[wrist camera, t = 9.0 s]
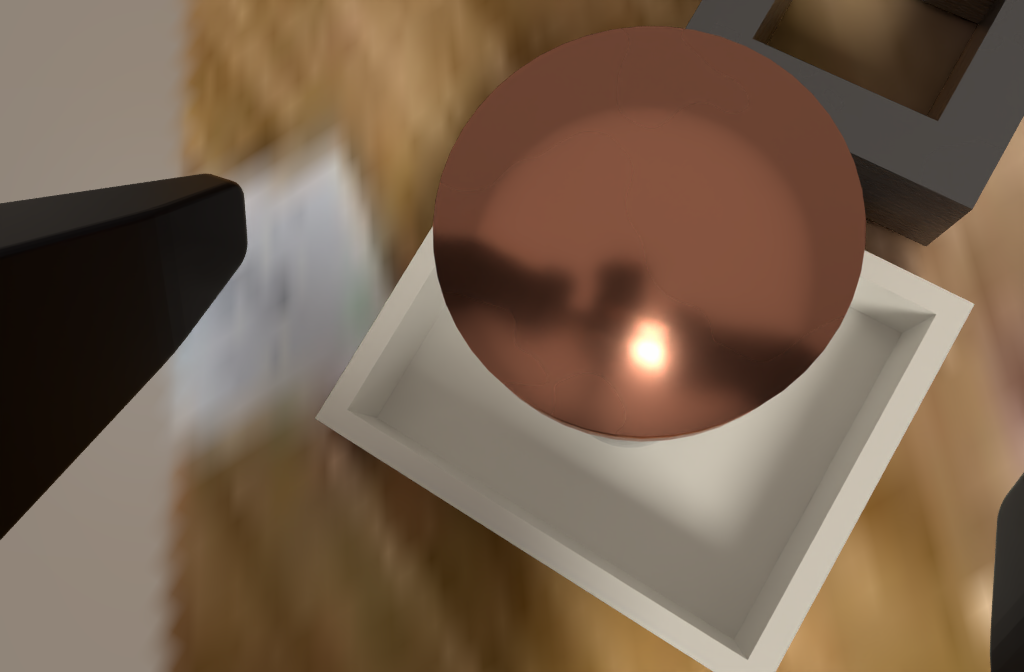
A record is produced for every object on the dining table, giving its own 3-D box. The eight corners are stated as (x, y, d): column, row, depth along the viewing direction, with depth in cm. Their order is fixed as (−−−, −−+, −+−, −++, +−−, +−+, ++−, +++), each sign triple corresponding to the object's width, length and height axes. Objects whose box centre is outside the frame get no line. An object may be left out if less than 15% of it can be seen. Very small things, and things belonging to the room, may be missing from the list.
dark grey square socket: (925, 246, 22) (972, 209, 19) (659, 118, 23) (663, 65, 20) (1062, -1, 22) (1127, -75, 19) (793, -108, 24) (816, -191, 21)
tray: (740, 669, 20) (759, 700, 17) (355, 426, 23) (314, 418, 20) (926, 329, 21) (974, 304, 18) (534, 131, 24) (520, 81, 21)
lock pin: (678, 495, 21) (772, 510, 8) (515, 424, 22) (365, 336, 9) (744, 332, 21) (929, 103, 9) (582, 269, 22) (531, -23, 9)
